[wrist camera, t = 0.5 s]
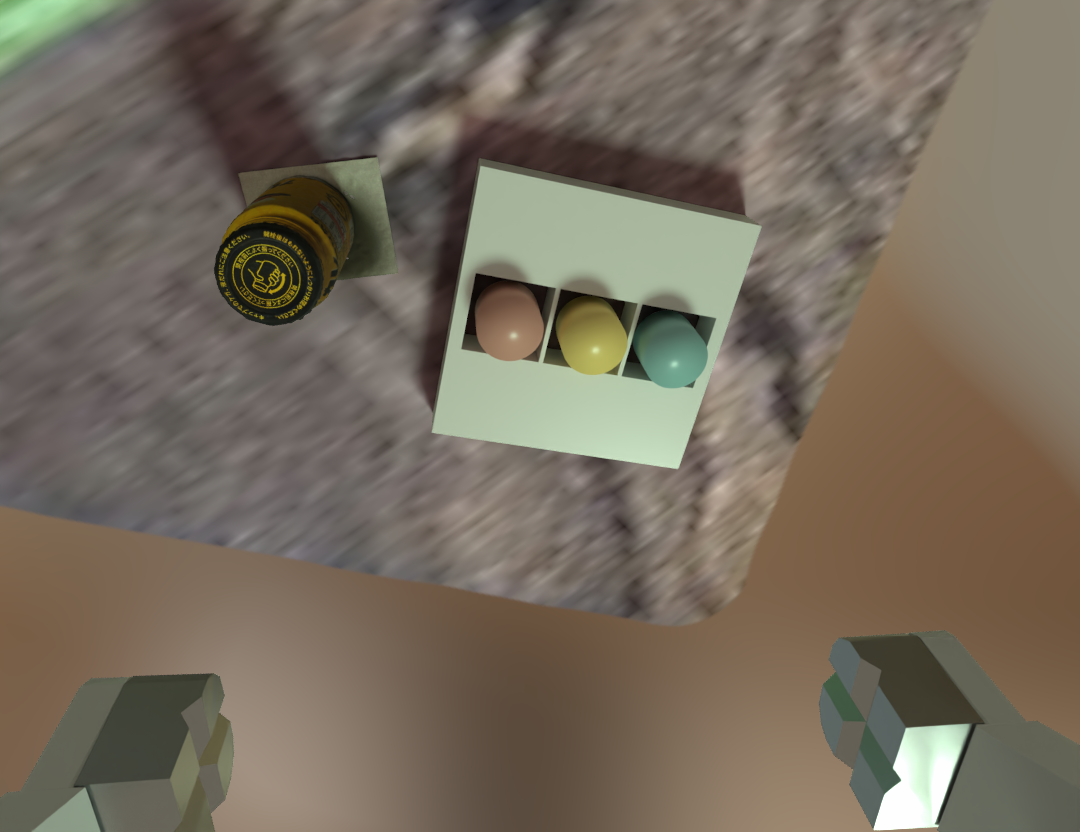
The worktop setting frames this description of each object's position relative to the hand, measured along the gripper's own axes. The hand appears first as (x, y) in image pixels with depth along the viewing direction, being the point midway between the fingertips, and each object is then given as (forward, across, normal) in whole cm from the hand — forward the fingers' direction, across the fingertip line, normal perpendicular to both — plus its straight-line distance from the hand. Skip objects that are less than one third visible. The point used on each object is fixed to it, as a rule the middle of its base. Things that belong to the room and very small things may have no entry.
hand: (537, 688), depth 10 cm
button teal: (+42, -13, +11) cm, 45 cm away
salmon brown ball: (+42, -2, +9) cm, 43 cm away
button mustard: (+42, -8, +10) cm, 43 cm away
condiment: (+43, +10, +3) cm, 44 cm away
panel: (+43, -8, +10) cm, 45 cm away
